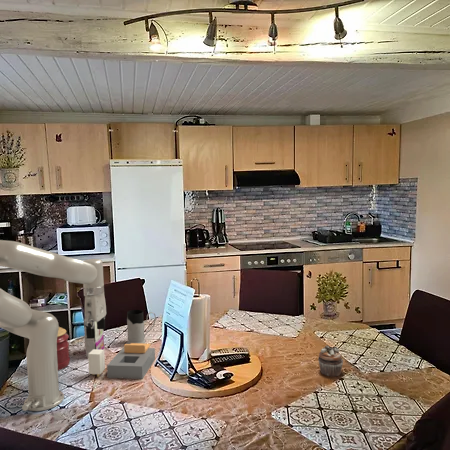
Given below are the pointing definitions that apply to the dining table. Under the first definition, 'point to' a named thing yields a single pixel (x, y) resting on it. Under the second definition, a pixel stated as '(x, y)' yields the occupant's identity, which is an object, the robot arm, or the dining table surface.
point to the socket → (130, 364)
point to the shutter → (136, 348)
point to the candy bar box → (94, 340)
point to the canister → (62, 349)
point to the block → (96, 362)
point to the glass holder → (136, 326)
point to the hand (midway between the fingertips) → (96, 333)
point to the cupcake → (330, 361)
